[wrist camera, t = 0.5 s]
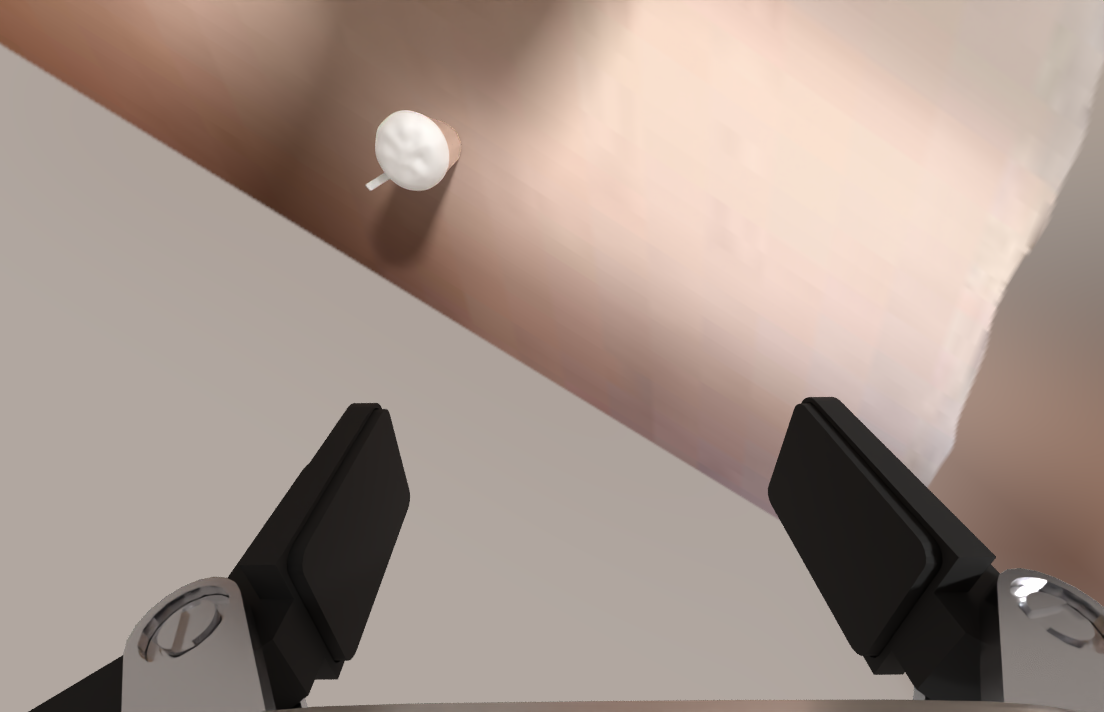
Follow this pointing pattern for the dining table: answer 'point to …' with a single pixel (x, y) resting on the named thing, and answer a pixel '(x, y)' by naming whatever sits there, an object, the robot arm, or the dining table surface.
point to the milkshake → (414, 150)
